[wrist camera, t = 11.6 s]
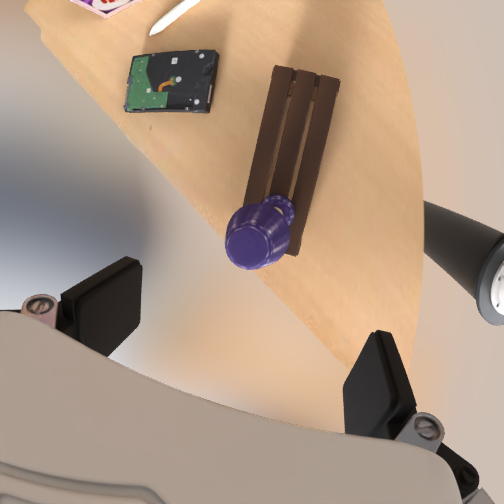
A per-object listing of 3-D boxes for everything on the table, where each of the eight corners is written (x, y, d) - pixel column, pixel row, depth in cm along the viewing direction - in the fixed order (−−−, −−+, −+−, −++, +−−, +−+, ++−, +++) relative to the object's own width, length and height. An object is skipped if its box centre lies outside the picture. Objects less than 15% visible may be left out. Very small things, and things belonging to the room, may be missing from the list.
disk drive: (220, 54, 36) (139, 59, 38) (215, 48, 34) (131, 55, 35) (211, 114, 40) (130, 114, 41) (205, 111, 37) (121, 112, 39)
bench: (334, 96, 36) (341, 79, 27) (299, 238, 43) (297, 257, 34) (280, 84, 36) (273, 64, 28) (248, 224, 44) (233, 240, 35)
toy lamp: (248, 208, 34) (197, 248, 18) (275, 180, 32) (246, 195, 16) (277, 237, 34) (251, 300, 18) (305, 210, 33) (305, 253, 17)
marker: (154, 40, 37) (148, 35, 34) (149, 34, 36) (142, 30, 34) (236, -21, 31) (233, -28, 29) (229, -26, 31) (225, -32, 28)
